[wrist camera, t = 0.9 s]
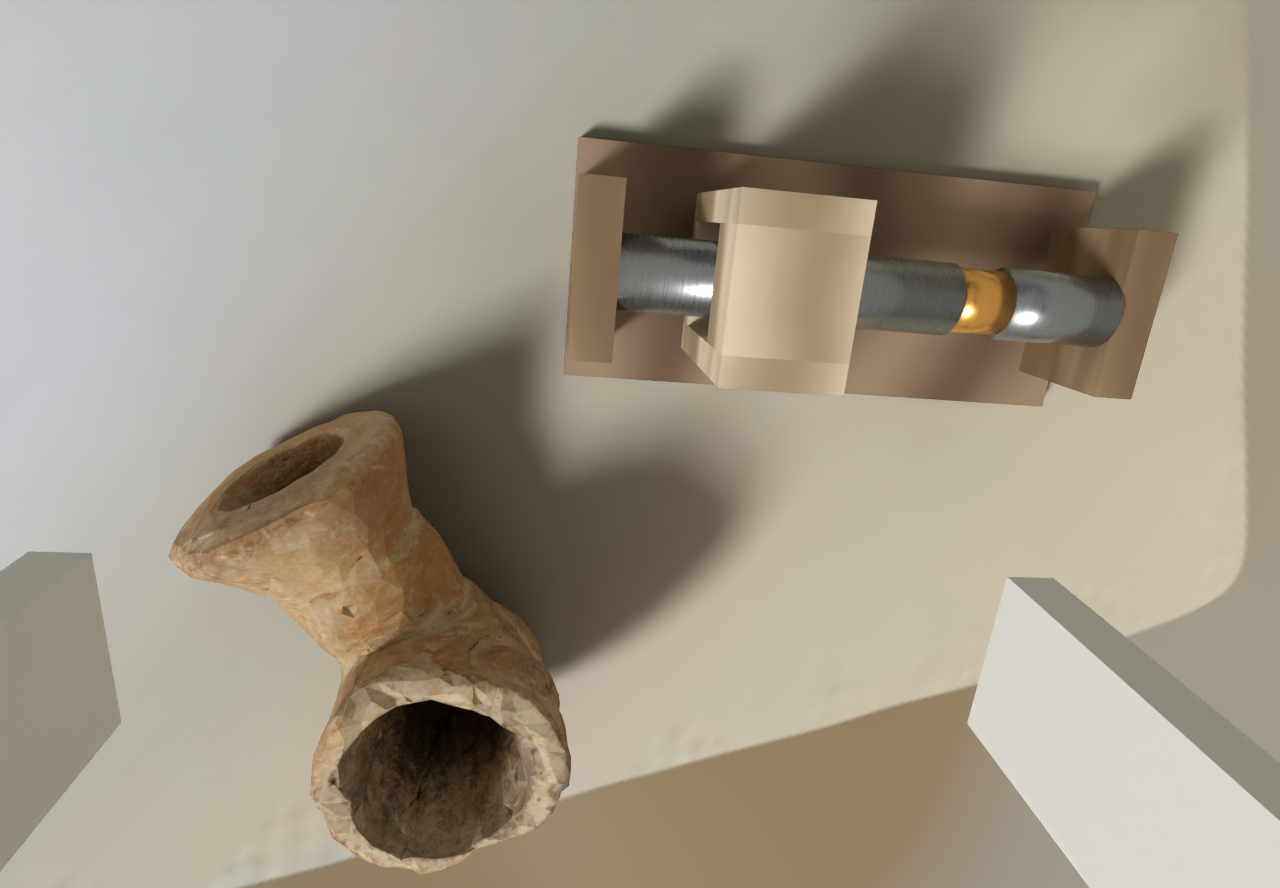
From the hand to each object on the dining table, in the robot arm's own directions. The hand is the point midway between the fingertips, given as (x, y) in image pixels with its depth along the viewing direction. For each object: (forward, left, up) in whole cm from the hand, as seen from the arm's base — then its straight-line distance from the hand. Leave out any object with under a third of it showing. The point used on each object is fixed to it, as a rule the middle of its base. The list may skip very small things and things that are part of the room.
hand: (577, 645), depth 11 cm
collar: (-4, +6, -19) cm, 21 cm away
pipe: (+10, -6, -21) cm, 24 cm away
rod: (-4, +10, -18) cm, 21 cm away
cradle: (-4, +10, -21) cm, 24 cm away
